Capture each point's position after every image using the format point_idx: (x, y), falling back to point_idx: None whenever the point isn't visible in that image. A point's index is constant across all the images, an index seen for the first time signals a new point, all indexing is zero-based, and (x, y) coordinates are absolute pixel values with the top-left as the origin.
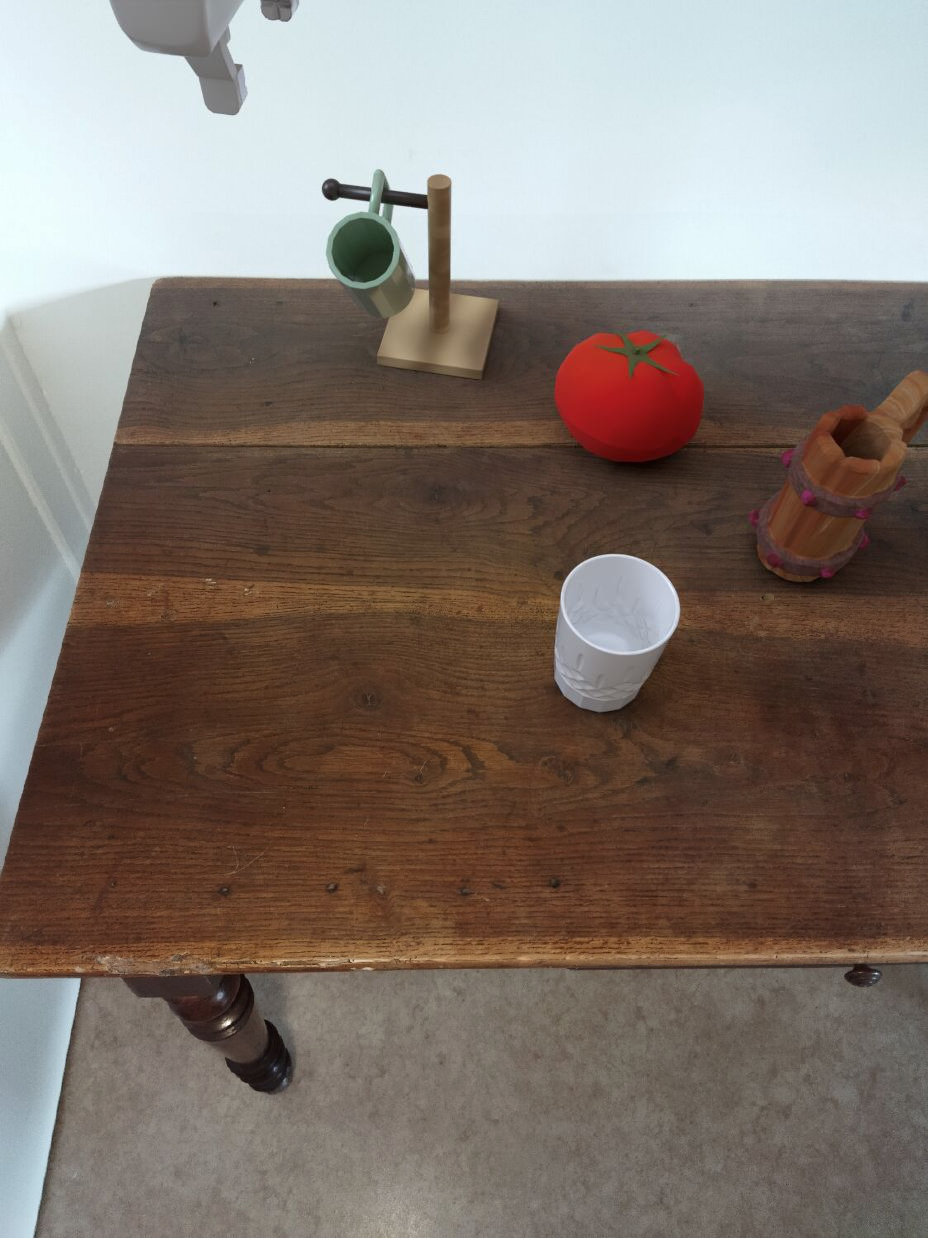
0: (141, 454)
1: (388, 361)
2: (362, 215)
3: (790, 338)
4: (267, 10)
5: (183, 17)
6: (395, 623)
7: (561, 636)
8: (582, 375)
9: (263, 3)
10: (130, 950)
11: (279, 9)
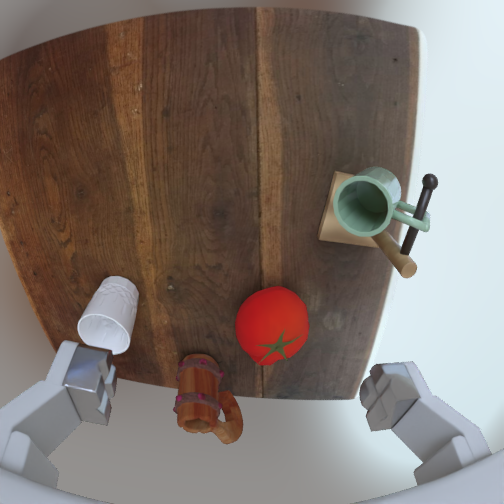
0: (246, 18)
1: (333, 179)
2: (389, 212)
3: (330, 367)
4: (377, 376)
5: None
6: (124, 199)
7: (93, 303)
8: (268, 318)
9: (384, 379)
10: None
11: (370, 391)
